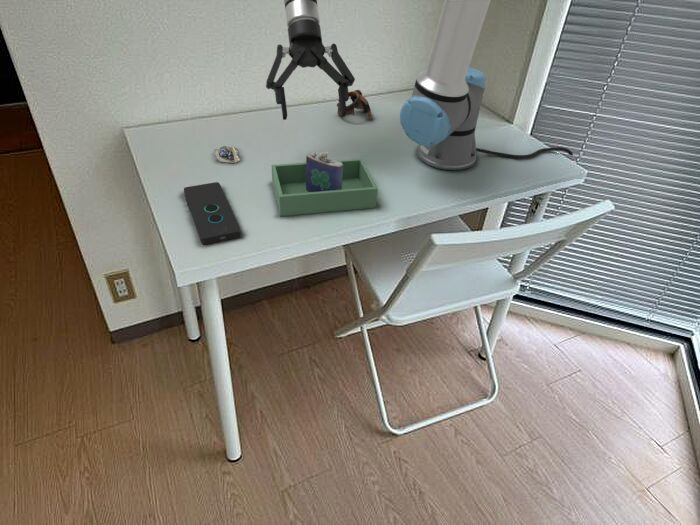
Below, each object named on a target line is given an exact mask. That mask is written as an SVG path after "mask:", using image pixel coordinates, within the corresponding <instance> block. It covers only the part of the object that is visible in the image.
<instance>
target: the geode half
mask: <svg viewBox="0 0 700 525" xmlns="http://www.w3.org/2000/svg"><path fill="white" fill-rule="evenodd" d="M213 151H214V152H213V153H214V155H215V159H217V161H218V162H221V163H228V164H229V163H230V164H237V163H238V162H240V160H241V158H240V156H239V153H238V152H239V150H238V149H237V148H236V147H234V146H230V147H229V146H226V145H224V146H221V147H219V148H214V150H213Z"/></svg>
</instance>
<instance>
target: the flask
mask: <svg viewBox="0 0 700 525" xmlns="http://www.w3.org/2000/svg"><path fill="white" fill-rule="evenodd" d="M328 155H329V152H328V151H325V152H324V151H322V152H320V153H319V154H318V153H317V152H308V153H307V154H306V158H305V160H306V162H305V163H306V191H307V192H320V191H332V190H342V175H343V163H342V162H339V161H335V160H334V159H330V158H328Z"/></svg>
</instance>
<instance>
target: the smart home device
mask: <svg viewBox="0 0 700 525" xmlns="http://www.w3.org/2000/svg"><path fill="white" fill-rule="evenodd" d="M183 195H184V198H185V201H186V202H185V203H186V205H187V207H188V210H189V212H190V215H191V218H192V221H193V224H194V227H195V229H196V232H197V235H198V238H199V241H200V243H201V244H202V245H204V246H205V245H209V244H214V243H219V242H225V241H230V240H234V239H239V238H241V237H242V236H241V227H240V225H239V223H238V220H237V219H236V216H235V214H234V212H233V210H232V208H231V206H230V203H229V201H228V198H227V196H226V193H225V191H224V190H223V187H222V186H221V184H220V182H217V181H216V182H209V183H202V184H197V185H190V186H185V187H184V188H183Z"/></svg>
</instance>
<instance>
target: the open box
mask: <svg viewBox="0 0 700 525" xmlns="http://www.w3.org/2000/svg"><path fill="white" fill-rule="evenodd" d="M334 161H339V162H342V163H343V175H342V190H332V191H320V192H307V191H306V162H293V163H281V164H271V185H272V189H273V192H274V196H275V201H276V205H277V209H278V213H279V216H280V217H287V216H298V215H309V214H320V213H331V212H343V211H351V210H354V211H355V210H364V209H365V210H366V209H373V208H377V202H378V191H379V188H378V186H377V184H376V182H375V180H374V178H373V177H372V176H373V175H371V173H370V171H369V169H368V167H367V165H366V164H365V161H364V159H363V158H352V159H351V158H350V159H335V160H334Z"/></svg>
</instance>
